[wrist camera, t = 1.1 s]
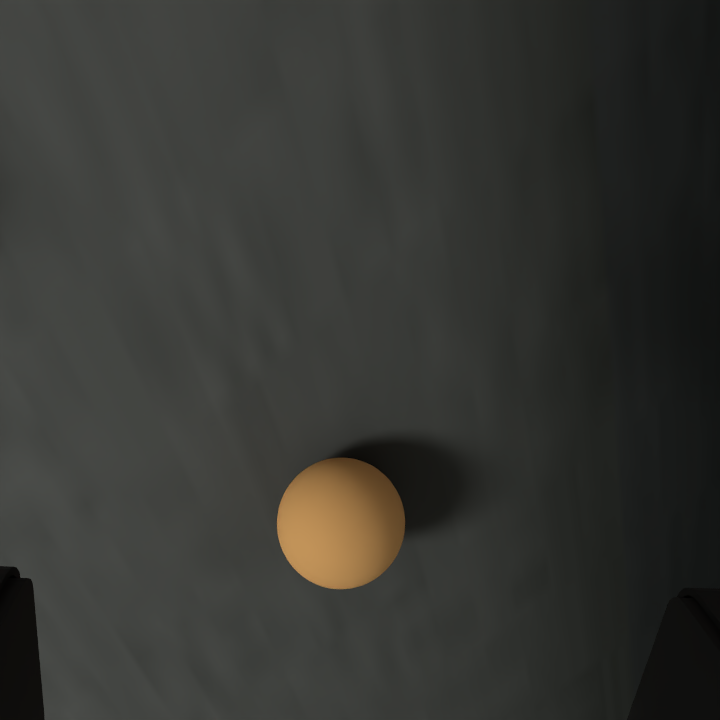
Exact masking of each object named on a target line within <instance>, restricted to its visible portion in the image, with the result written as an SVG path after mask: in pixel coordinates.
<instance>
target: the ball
mask: <svg viewBox="0 0 720 720" xmlns="http://www.w3.org/2000/svg"><path fill="white" fill-rule="evenodd" d="M277 531H278V537H279V542H280V545H281V548H282V550H283V553H284V554H285V556H286V558H287V559H288V561H289V563H290V564H291V565H292V566H293V568H294V569H295V570H296V571H297V572H298V573H299V574H301V575H302V576H303V577H304V578H306V579H307V580H309V581H311V582H313V583H315V584H317V585H320V586H323V587H326V588H332V589H349V588H355V587H358V586H362V585H364V584H367V583H369V582H371V581H373V580H374V579H376V578H377V577H379V576H380V575H381V574H382V573H383V572H384V571H385V570H386V569H387V568H388V567H389V566H390V565H391V564H392V562H393V561H394V559H395V558H396V556H397V554H398V552H399V550H400V547H401V544H402V541H403V537H404V532H405V515H404V508H403V505H402V501H401V499H400V496H399V494H398V492H397V490H396V489H395V487H394V486H393V484H392V483H391V481H390V480H389V479H388V478H387V477H386V476H385V475H384V474H383V473H382V472H380V471H379V470H378V469H377V468H375V467H374V466H372V465H370V464H368V463H366V462H363V461H360V460H357V459H352V458H331V459H326V460H323V461H320V462H317V463H315V464H313V465H311V466H309V467H308V468H306V469H305V470H304V471H302V472H301V473H300V474H299V475H298V476H296V477H295V479H294V480H293V481H292V482H291V483H290V485H289V486H288V488H287V489H286V491H285V493H284V495H283V498H282V500H281V503H280V506H279V510H278V517H277Z"/></svg>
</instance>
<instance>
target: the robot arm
mask: <svg viewBox="0 0 720 720" xmlns="http://www.w3.org/2000/svg"><path fill="white" fill-rule="evenodd" d="M0 720H44V707H43V695H42V684H41V672H40V661H39V649H38V637H37V626H36V614H35V603H34V591H33V583H32V581H31V579H29V578H20V573H19V571H18V569H17V568H16V567H4V566H0ZM627 720H720V589H706V588H684V589H683V590H681V591H680V592H679V594H678V596H677V597H676V598H672V599H671V600H670V601H669V603H668V605H667V608H666V611H665V613H664V616H663V619H662V622H661V625H660V628H659V630H658V633H657V636H656V639H655V642H654V645H653V647H652V650H651V653H650V656H649V659H648V662H647V664H646V667H645V670H644V673H643V676H642V679H641V682H640V684H639V687H638V690H637V693H636V696H635V699H634V701H633V704H632V707H631V710H630V713H629V716H628V718H627Z"/></svg>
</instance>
